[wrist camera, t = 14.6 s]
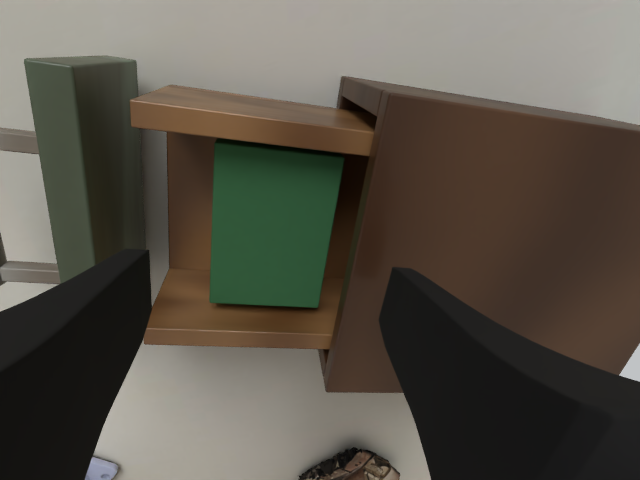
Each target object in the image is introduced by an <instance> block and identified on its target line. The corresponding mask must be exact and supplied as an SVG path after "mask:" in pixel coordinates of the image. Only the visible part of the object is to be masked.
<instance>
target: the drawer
mask: <svg viewBox="0 0 640 480" xmlns="http://www.w3.org/2000/svg"><path fill="white" fill-rule="evenodd" d="M24 64H25V70H26V76H27V82H28V88H29V95H30V101H31V107H32V113H33V119H34V125H35V131H36V132H33V131H25V130H16V129H7V128H0V150H3V151H12V152H22V153H31V154H39V156H40V162H41V168H42V174H43V180H44V186H45V192H46V199H47V205H48V211H49V217H50V223H51V229H52V235H53V241H54V248H55V254H56V260H57V264H53V263H37V262H20V261H7V259H6V255H5V251H4V246H3V242H2V237H1V233H0V286H1V285H2V284H4V283H5V282H7V281H8V282H28V283H47V284H61V283H63V282H65V281H67V280H69V279H71V278H73V277H75V276H77V275H78V274H80V273H82V272H84V271H86V270H87V269H89V268H91V267H93V266H95V265H96V264H98V263H100V262H102V261H103V260H105V259H107V258H109V257H110V256H112V255H114V254H116V253H118V252H120V251H122V250H124V249H139V250H146V244H145V224H144V204H143V183H142V163H141V143H140V128H141V129H149V130H157V131H165V132H167V177H168V225H169V270H168V272H167V275H166V277H165V279H164V282H163V284H162V286H161V288H160V291H159V293H158V295H157V298H156V300H155V302H154V305H153V307H152V311H151V315H150V318H149V321H148V325H147V328H146V331H145V334H144V337H143V338H144V344H149V345H187V346H224V347H262V348H299V349H330V344H331V340H332V335H333V330H334V325H335V320H336V315H337V310H338V306H339V301H340V296H341V291H342V286H343V281H344V276H345V272H346V267H347V262H348V257H349V252H350V247H351V242H352V238H353V233H354V228H355V223H356V218H357V213H358V208H359V204H360V199H361V194H362V189H363V184H364V179H365V175H366V170H367V165H368V160H369V155H370V150H371V145H372V141H373V136H374V131H375V126H376V121H377V116H375V115H374V114H372V113H365V112H358V111H351V110H344V109H337V108H330V107H323V106H316V105H309V104H302V103H295V102H288V101H281V100H274V99H267V98H260V97H253V96H247V95H240V94H233V93H226V92H219V91H212V90H205V89H198V88H191V87H184V86H177V85H169V86H166V87H163V88H160V89H158V90H155V91H152V92H149V93H147V94H144V95H141V96H139V97H138V83H137V63H136V61H135V60H132V59H125V58H119V57H112V56H81V57H53V58H27V59H25V60H24ZM217 138H222V139H230V140H239V141H247V142H255V143H263V144H271V145H279V146H288V147H296V148H304V149H312V150H320V151H328V152H337V153H341V154H342V155H343V157H344V158H345V161H344V167H343V172H342V178H341V183H340V189H339V194H338V200H337V206H336V211H335V217H334V222H333V228H332V234H331V239H330V245H329V250H328V256H327V261H326V267H325V273H324V278H323V284H322V289H321V295H320V300H319V306H318V308H308V307H287V306H265V305H244V304H222V303H210V302H209V293H210V262H211V231H212V199H213V168H214V143H215V141H216V140H217Z"/></svg>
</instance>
